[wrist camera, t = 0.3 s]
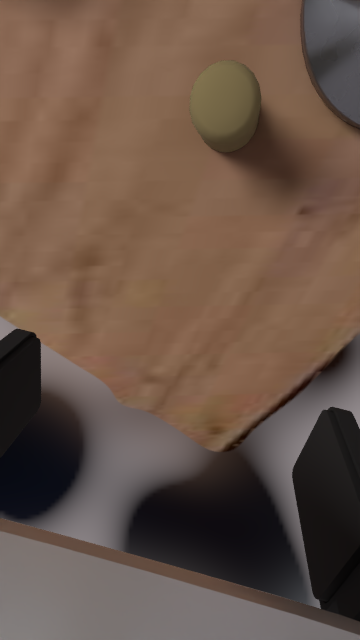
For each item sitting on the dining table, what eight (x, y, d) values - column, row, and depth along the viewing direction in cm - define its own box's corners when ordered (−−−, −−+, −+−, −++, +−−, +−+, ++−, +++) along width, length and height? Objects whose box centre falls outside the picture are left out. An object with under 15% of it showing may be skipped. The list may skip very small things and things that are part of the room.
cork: (271, 102, 32) (287, 77, 22) (237, 164, 34) (237, 166, 24) (217, 67, 31) (208, 25, 21) (186, 133, 34) (166, 122, 24)
